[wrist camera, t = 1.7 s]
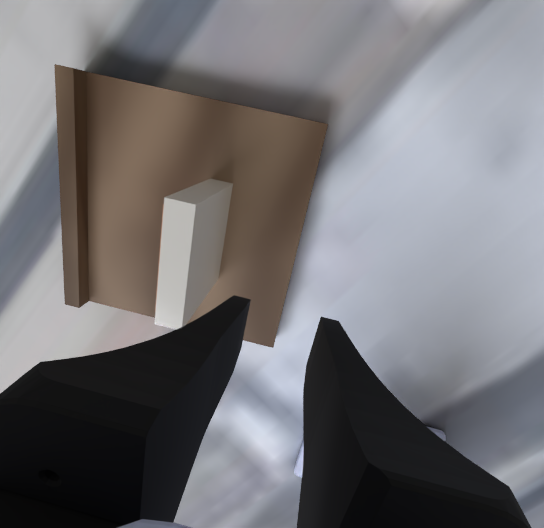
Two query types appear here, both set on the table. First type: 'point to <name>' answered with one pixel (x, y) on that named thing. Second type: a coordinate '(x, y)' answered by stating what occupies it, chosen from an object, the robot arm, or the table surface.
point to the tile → (190, 249)
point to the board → (173, 178)
